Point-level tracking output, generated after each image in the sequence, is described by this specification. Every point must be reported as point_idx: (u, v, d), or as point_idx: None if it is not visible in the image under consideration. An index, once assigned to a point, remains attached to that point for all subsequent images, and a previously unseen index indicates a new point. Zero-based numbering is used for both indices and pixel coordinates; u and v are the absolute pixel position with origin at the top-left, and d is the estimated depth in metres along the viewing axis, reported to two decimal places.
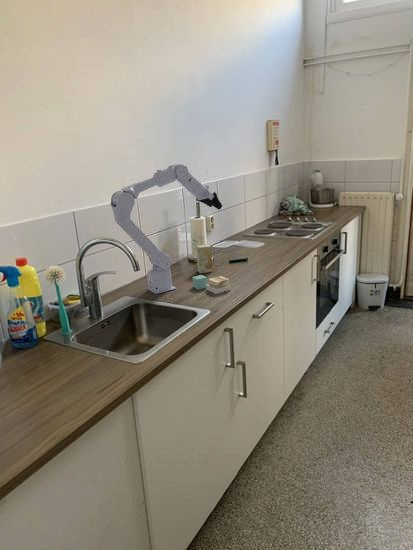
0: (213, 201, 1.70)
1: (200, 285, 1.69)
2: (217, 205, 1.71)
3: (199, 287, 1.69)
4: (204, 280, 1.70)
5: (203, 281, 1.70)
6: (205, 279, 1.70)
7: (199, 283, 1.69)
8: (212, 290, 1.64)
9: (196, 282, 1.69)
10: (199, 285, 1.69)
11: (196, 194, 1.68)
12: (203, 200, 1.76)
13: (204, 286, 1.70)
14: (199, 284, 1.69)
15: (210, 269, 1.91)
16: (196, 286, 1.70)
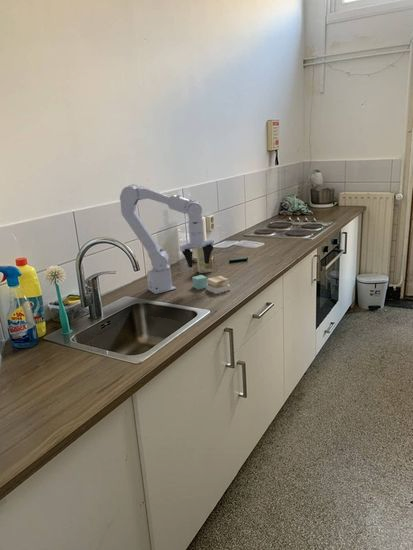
0: (188, 255, 1.66)
1: (200, 285, 1.69)
2: (188, 261, 1.67)
3: (199, 287, 1.69)
4: (204, 280, 1.70)
5: (203, 281, 1.70)
6: (205, 279, 1.70)
7: (199, 283, 1.69)
8: (212, 290, 1.64)
9: (196, 282, 1.69)
10: (199, 285, 1.69)
11: None
12: (204, 251, 1.70)
13: (204, 286, 1.70)
14: (199, 284, 1.69)
15: (210, 269, 1.91)
16: (196, 286, 1.70)
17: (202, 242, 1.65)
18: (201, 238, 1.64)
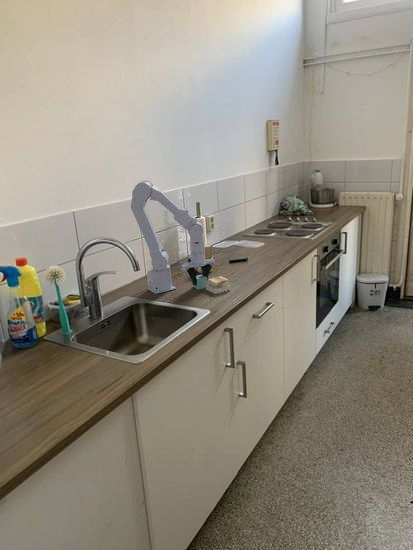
0: None
1: (200, 285, 1.69)
2: (192, 280, 1.70)
3: (199, 287, 1.69)
4: (204, 280, 1.70)
5: (203, 280, 1.70)
6: (205, 279, 1.70)
7: (199, 283, 1.69)
8: (212, 290, 1.64)
9: None
10: (199, 285, 1.69)
11: None
12: (203, 271, 1.72)
13: (204, 286, 1.70)
14: (199, 284, 1.69)
15: None
16: (196, 286, 1.70)
17: (203, 261, 1.67)
18: (202, 258, 1.66)
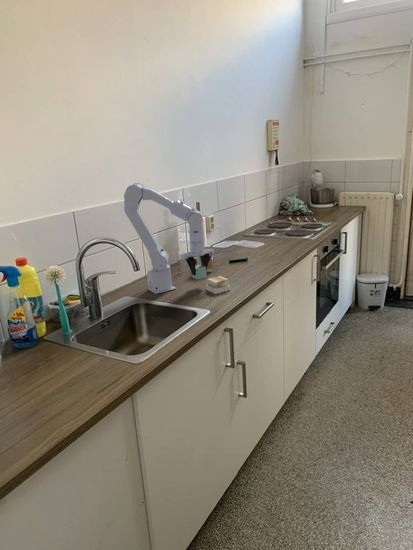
0: None
1: (199, 275, 1.68)
2: (191, 269, 1.69)
3: (198, 277, 1.68)
4: (204, 269, 1.68)
5: (203, 270, 1.68)
6: (204, 269, 1.69)
7: (198, 273, 1.67)
8: (212, 290, 1.64)
9: None
10: (198, 274, 1.68)
11: None
12: (202, 260, 1.71)
13: (203, 276, 1.69)
14: (198, 274, 1.68)
15: (210, 269, 1.91)
16: (195, 276, 1.69)
17: (203, 251, 1.66)
18: (202, 247, 1.65)
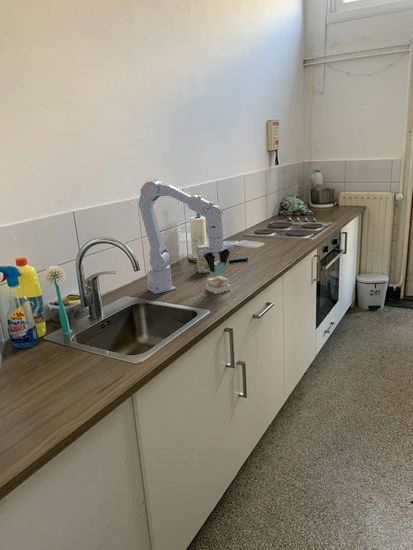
0: (210, 259, 1.62)
1: (218, 271, 1.63)
2: (210, 266, 1.63)
3: (217, 273, 1.62)
4: (222, 266, 1.63)
5: (221, 267, 1.63)
6: (223, 265, 1.63)
7: (217, 269, 1.62)
8: (212, 290, 1.64)
9: (214, 268, 1.62)
10: (217, 271, 1.62)
11: None
12: (220, 256, 1.65)
13: (222, 272, 1.64)
14: (217, 270, 1.62)
15: None
16: (214, 272, 1.63)
17: (222, 246, 1.60)
18: (221, 242, 1.59)
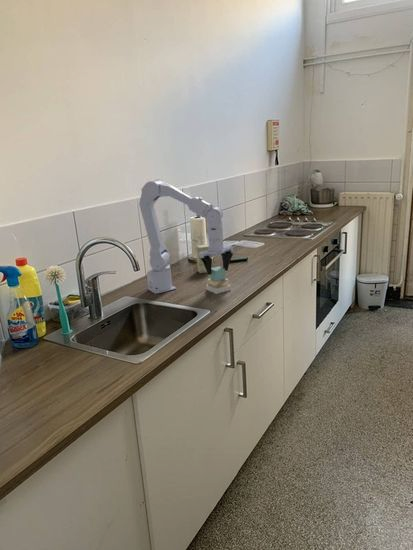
0: (207, 262, 1.62)
1: (218, 277, 1.63)
2: (207, 268, 1.63)
3: (217, 279, 1.63)
4: (222, 271, 1.63)
5: (221, 272, 1.63)
6: (223, 271, 1.64)
7: (217, 275, 1.63)
8: (212, 290, 1.64)
9: (214, 274, 1.63)
10: (217, 277, 1.63)
11: None
12: (223, 258, 1.66)
13: (222, 278, 1.64)
14: (217, 276, 1.63)
15: None
16: (214, 278, 1.64)
17: (222, 249, 1.61)
18: (221, 244, 1.60)
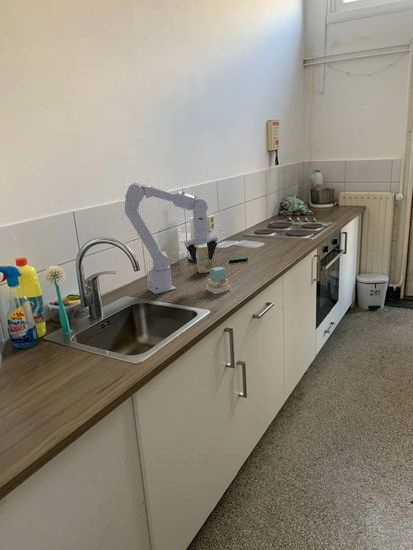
0: (192, 251, 1.68)
1: (218, 277, 1.63)
2: (192, 257, 1.69)
3: (217, 279, 1.63)
4: (223, 271, 1.64)
5: (222, 272, 1.63)
6: (223, 271, 1.64)
7: (217, 275, 1.63)
8: (212, 290, 1.64)
9: (214, 274, 1.63)
10: (217, 277, 1.63)
11: None
12: (208, 247, 1.73)
13: (222, 278, 1.64)
14: (217, 276, 1.63)
15: None
16: (214, 278, 1.64)
17: (206, 238, 1.67)
18: (205, 234, 1.66)
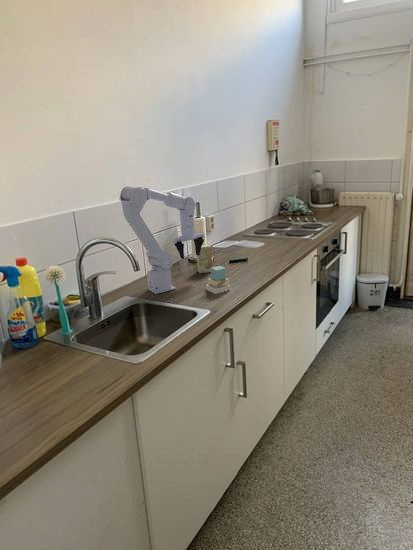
0: (180, 247, 1.76)
1: (219, 276, 1.64)
2: (180, 253, 1.77)
3: (218, 278, 1.63)
4: (223, 271, 1.64)
5: (222, 272, 1.64)
6: (224, 270, 1.64)
7: (218, 274, 1.63)
8: (212, 290, 1.64)
9: (215, 273, 1.63)
10: (218, 276, 1.63)
11: None
12: (195, 244, 1.80)
13: (223, 277, 1.65)
14: (218, 275, 1.63)
15: (210, 269, 1.91)
16: (214, 277, 1.64)
17: (193, 235, 1.75)
18: (192, 231, 1.74)
